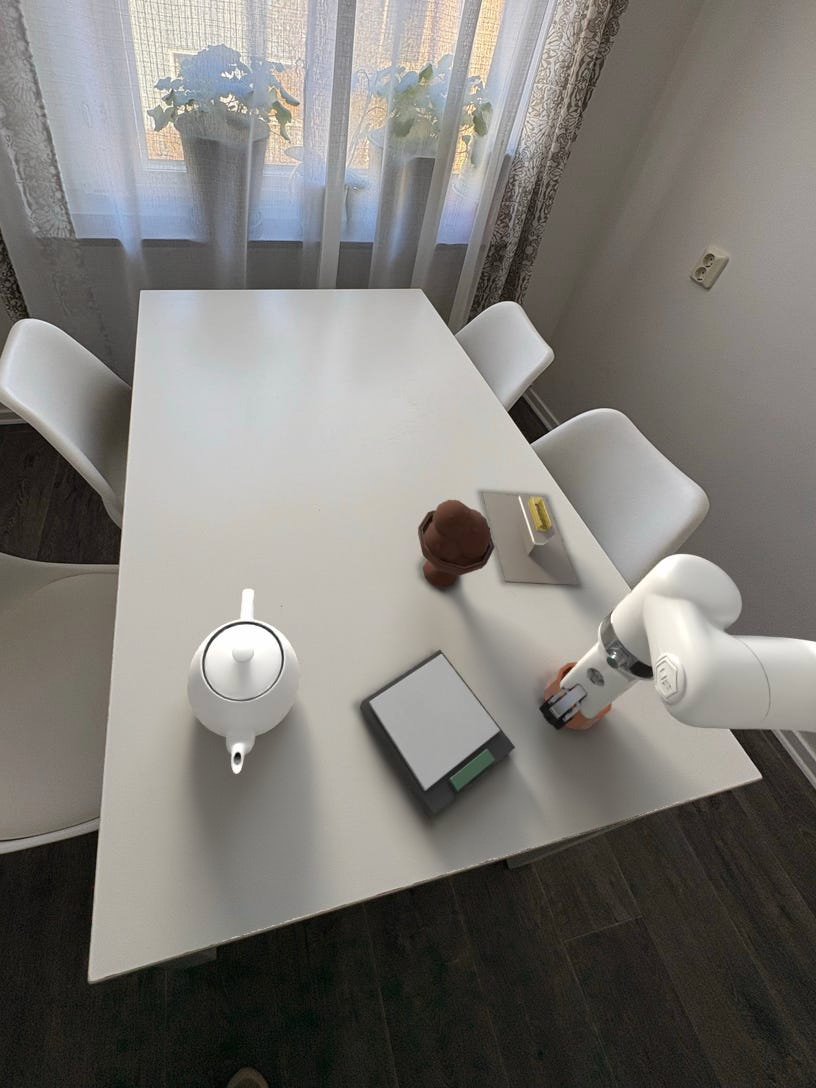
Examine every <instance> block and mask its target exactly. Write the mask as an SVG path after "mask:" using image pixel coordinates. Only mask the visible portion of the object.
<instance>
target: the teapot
mask: <svg viewBox="0 0 816 1088" xmlns="http://www.w3.org/2000/svg"><path fill="white" fill-rule="evenodd" d="M239 616H240V617H239V619H236V620H232V621H229V622H227V623H225V624H223V625H221V626H219V627H218V628H216V629H215V630H214V631H212V632H211V633H210V634H209V635H207V637H206V638H205V639H204V640H203V641H202V642H201V644H200V645H199V647H198V648H197V650H196V651H195V652H194V655H193V657H192V660H191V662H190V665H189V668H188V669H189V670H188V674H187V689H186V691H187V697H188V702H189V704H190V707H191V709H192V712H193V713H194V715H195V716H196V718H197V719H198V721H199V722H200V723H201V724H202V725H203V726H204V727H205V728H207V730H209V731H211V732H212V733H214V734H215V735H218V736H221V737H225V746H226V749H227V752H228V753H229V754H230V756H231V758H230V763H231V764H230V765H231V770H232V772H233V774H235V775H238V774H240V772H241V771H242V769H243V766H244V760H245V755H247V754H249V753H250V752H251V751H252V749H253V748H254V745H255V741H256V737H257V736H260V735H263V734H266V733H267V732H269V731H270V730H272V729H274V728H275V727H276V726H278V725H279V724H280V723H281V722H282V721H283V720H284V719H285V718H286V716H287V715H288V713H289V712H290V711H291V709H292V707H293V705H294V703H295V702H296V699H297V695H298V691H299V689H300V688H299V687H300V679H301V677H300V665H299V661H298V658H297V655H296V652H295V650H294V648H293V647H292V645H291V643H290V641H289V640H288V639H287V638H286V636H285V635H284V634H283V633H282V632H281V631H279V630H278V629H277V628H276V627H274V626H272V625H270V624H268V623H266V622H263V621H260V620H257V619H255V618H254V617H255V591H254V590H253V589H250V588H246V589H244V590H243V591H242V593H241V603H240V615H239Z"/></svg>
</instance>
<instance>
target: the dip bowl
mask: <svg viewBox="0 0 816 1088" xmlns="http://www.w3.org/2000/svg"><path fill="white" fill-rule="evenodd" d="M578 662H579V661H576V662H575V661H573V662H566V663H565V664H563V666H562V667H560V668H559V669H558V670H557V671H556V673H554V674H553V675H552V676H551V677H550V678H549V679H548V681H546V684H545V687H544V691H543V693H544V702H545V701H547V700H548V699H549V698H550V697H551V696H552V695H554V696H555V695H556V694H557V693H558V692H560V691H561V690H562V689H563V688H562V689H561V688H560V682H561V681H562V680H563V679H564V677H565V676H566V675H567V674H568V673H569V672H570V671H571V670H572V668H573V667H574V666H575V665H576V664H577V663H578ZM575 687H576V686H575ZM575 687H574V688H575ZM574 688H573V687H572V688H571V689H574ZM565 695H567V694H566V693H565V694H564V695H563V696H562V697H561V698H559V699H560V700H561V699H562V698H563V697H564V696H565ZM584 697H585V696H583V697H582V698H581V700H583V698H584ZM559 699H558V700H559ZM612 705H613V702H612V703H611V704H609V705H608V706H607V707H606V708H604V709H603V710H602V711H601V712H599V713H598V714H597V715H596V716H594V717H593V718H586V717H585V716H584V715H583V714H582V713H581V712H580V710H579V711H578V712H577V713H575V714H574V715H573V716H572V718H573V719H572V720H571V721H570V722H568V723H567V724H566V725H565V726H564V727H567V728H569V729H573V730H577V731H578V730H587V729H589V728H590V727H592V726H593V725H594V724H595V723H597V722H598V721H599V720H601V719H602V718H603V717H604V716H606V715H607V714H609V712H610V711H611V709H612ZM575 707H576V705H575V704H574V705H573V706H572V707H570V708H569V710H570V711H571V710H572V709H573V708H575ZM570 711H569V712H570Z"/></svg>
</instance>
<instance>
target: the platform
mask: <svg viewBox="0 0 816 1088" xmlns="http://www.w3.org/2000/svg"><path fill="white" fill-rule="evenodd" d="M482 498H483V502H484V505H485V509H486V513H487V517H488V520H489V524H490V529H491V532H492V535H493V539H494V545H495V548H496V551H497V555H498V558H499V562H500V565H501V570H502V574H503V577H504V581H505V582H511V583H512V582H514V583H532V584H533V583H534V584H553V585H569V586H570V585H572V586H579V582H578V579H577V577H576V575H575V571H574V569H573V566H572V563H571V561H570V558H569V556H568V553H567V550H566V547H565V544H564V542H563V539H562V537H561V534H560V531H559V529H558V525H557V523H556V520H555V517H554V515H553V512H552V509H551V506H550V504H549V501H548V498H547V497H546V496H533V495H530V494H528V493H526V494H525V493H521V494H519V495H514V494H498V493H483V492H482Z"/></svg>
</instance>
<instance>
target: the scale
mask: <svg viewBox="0 0 816 1088" xmlns="http://www.w3.org/2000/svg"><path fill="white" fill-rule="evenodd" d="M359 709H360V711H361V712H362V714H363V716H364V717H365V719H366V720H367V722H368V724H369V725H370V727H371V729H372V730H373V732H374V733H375V735H376V736H377V738H378V740H379V742H380V743H381V744H382V746H383V748H384V749H385V751H386V752H387V754H388V755H389V757H390V759H391V760H392V762H393V763H394V765H395V767H396V768H397V770H398V772H399V773H400V775H401V776H402V778H403V780H404V781H405V783H406V785H407V786H408V788H409V789H410V791H411V793H412V794H413V796H414V797H415V799H416V801H417V802H418V804H419V805H420V807H421V809H422V810H423V811H424V813H425V815H426V817H427V818H428V820H431V819H433V817H435V816H436V815H437V814H438V813H439V812H441V811H442V810H443V809H444V808H446V807H447V806H448V805H449V804H450V803H452V802H453V801H454V800H455V799H456V798H457V797H459V796H460V795H461V794H462V793H464V792H465V791H466V790H467V789H468V788H469V787H471V786H472V785H473V784H474V783H475V782H476V781H478V780H479V779H480V778H482V777H483V776H484V775H485V774H486V773H487V772H488V771H490V770H491V769H492V768H493V767H494V766H495V765H497V764H498V763H499V762H501V760H503V759H504V758H505V757H506V756H507V755H509V754H510V753H511V752H512V751H514V749H515V748H516V746H515V744H513V742H512V741H511V740H510V738H509V737H508V736H507V734H506V733H505V732H504V731H503V729H502V728H501V727H500V725H499V724H498V723H497V721H496V720H495V719H494V718H493V716H492V715H491V714H490V713H489V711H488V710H487V709H486V707H485V706H484V705H483V703H482V702H481V701H480V699H479V698H478V696H477V695H476V694H475V693H474V692H473V690H472V689H471V687H470V686H469V685H468V683H466V681H465V680H464V678H463V677H462V676H461V674H460V673H459V672H458V671H457V669H456V668H455V667H454V665H453V664H452V663H451V662H450V660H449V658H448V657H447V656H446V655H445V653H444V652H442V650H441V649H438V650H436V651H435V652H434V653H432V654H430V655H429V656H428V657H426V658H425V659H423V660H422V661H420V662H419V663H416V664H415V665H414V666H413V667H411V668H409V669H408V670H406V671H405V672H403V673H402V674H400V675H399V676H397V677H396V678H394V679H393V680H391V681H390V682H388V683H386V684H385V685H383V686H381V687H380V688H379V689H377V690H376V691H374V692H373V693H371V694H369V695H368V696H366V697H365V698H363V699H362V700H361V703H360V705H359Z"/></svg>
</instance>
